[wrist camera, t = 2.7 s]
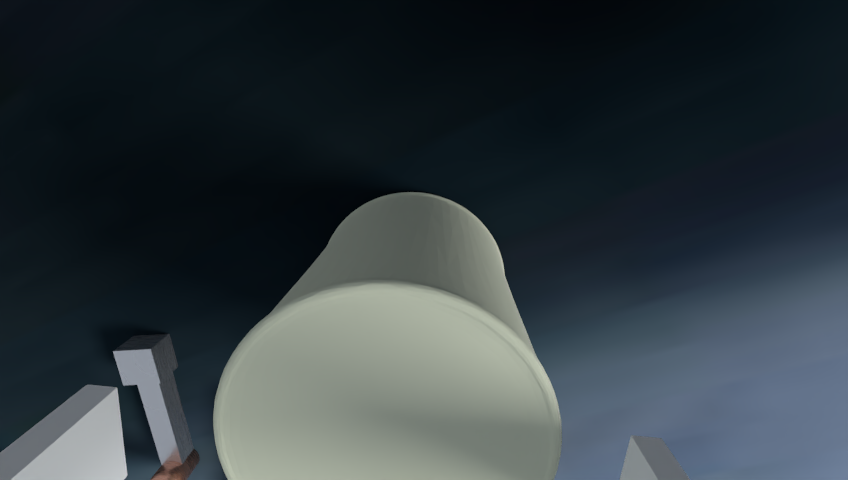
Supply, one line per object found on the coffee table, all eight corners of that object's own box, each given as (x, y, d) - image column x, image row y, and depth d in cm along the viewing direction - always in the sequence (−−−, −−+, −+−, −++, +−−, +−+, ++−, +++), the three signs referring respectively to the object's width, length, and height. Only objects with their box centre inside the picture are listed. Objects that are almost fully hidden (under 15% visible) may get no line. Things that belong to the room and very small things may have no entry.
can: (366, 382, 24) (299, 627, 13) (291, 230, 22) (128, 364, 11) (528, 329, 23) (614, 548, 12) (467, 162, 21) (498, 228, 9)
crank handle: (133, 335, 24) (91, 366, 21) (169, 333, 24) (132, 364, 21) (172, 468, 27) (140, 511, 24) (205, 466, 26) (176, 510, 24)
